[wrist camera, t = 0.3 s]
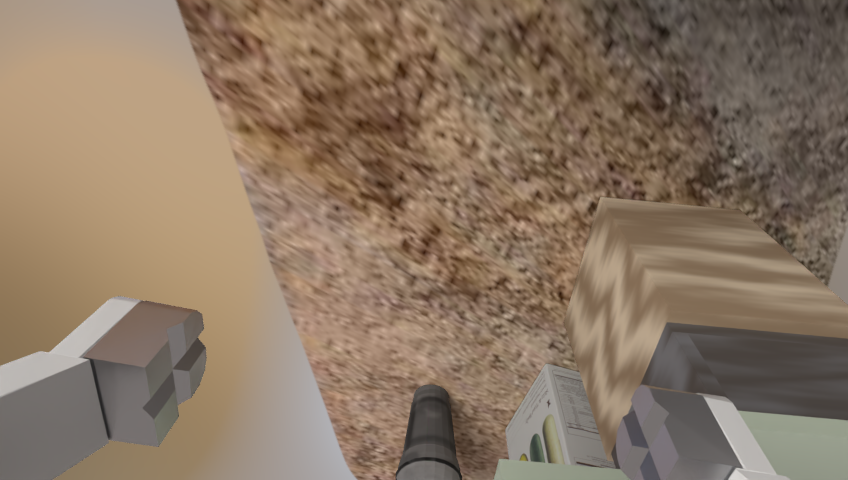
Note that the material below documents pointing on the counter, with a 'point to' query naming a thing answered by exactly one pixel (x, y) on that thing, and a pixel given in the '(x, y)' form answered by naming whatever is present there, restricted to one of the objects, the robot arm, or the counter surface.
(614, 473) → the lid
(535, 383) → the supplement box
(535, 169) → the counter surface
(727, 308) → the tub stand
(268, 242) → the counter surface
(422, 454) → the beverage cup
